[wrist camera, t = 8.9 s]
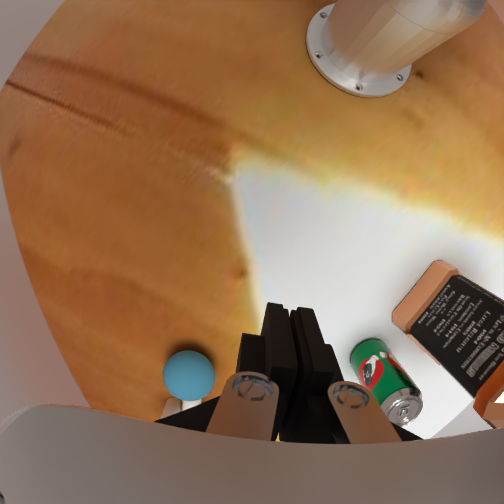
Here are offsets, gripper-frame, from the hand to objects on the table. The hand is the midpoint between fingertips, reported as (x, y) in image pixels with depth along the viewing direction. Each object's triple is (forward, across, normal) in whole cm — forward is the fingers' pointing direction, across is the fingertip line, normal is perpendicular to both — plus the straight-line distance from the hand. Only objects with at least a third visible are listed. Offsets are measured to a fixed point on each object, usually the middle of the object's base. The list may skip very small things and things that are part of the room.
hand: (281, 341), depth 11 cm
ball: (+19, +6, +18) cm, 27 cm away
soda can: (+23, -16, +14) cm, 31 cm away
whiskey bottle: (+23, -23, +7) cm, 34 cm away
